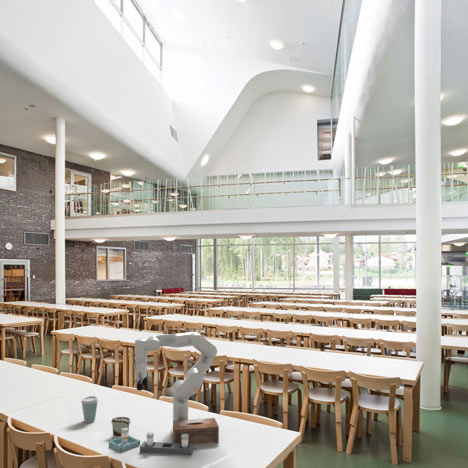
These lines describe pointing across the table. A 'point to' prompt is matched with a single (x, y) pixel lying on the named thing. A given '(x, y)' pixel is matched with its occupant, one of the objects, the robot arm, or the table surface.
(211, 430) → the tissue box cover
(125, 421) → the food container
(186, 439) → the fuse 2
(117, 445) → the tray
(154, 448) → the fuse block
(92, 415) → the disposable coffee cup
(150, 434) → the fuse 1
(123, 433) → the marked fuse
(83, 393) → the table surface
